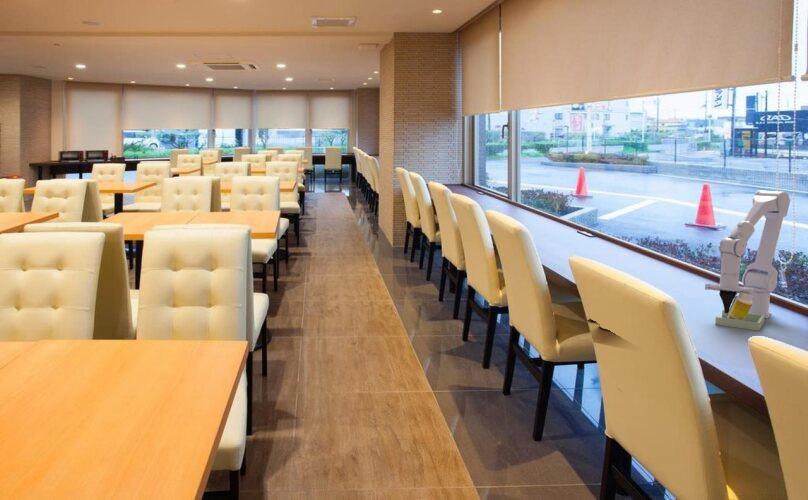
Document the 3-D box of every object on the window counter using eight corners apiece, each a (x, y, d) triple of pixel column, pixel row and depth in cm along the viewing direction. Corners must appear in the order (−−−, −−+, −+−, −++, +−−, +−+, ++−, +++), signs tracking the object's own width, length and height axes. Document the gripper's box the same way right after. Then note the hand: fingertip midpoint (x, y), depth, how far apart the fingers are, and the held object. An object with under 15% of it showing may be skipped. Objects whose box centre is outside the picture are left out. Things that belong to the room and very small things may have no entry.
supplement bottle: (746, 325, 218) (758, 298, 215) (730, 322, 218) (743, 294, 215) (738, 318, 224) (750, 292, 220) (723, 315, 223) (735, 288, 220)
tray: (722, 316, 229) (722, 309, 229) (764, 322, 222) (764, 315, 221) (715, 324, 219) (715, 317, 218) (758, 330, 211) (759, 323, 211)
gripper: (704, 272, 221) (701, 311, 223) (752, 277, 213) (748, 318, 215) (708, 269, 227) (705, 307, 229) (755, 274, 219) (751, 314, 221)
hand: (726, 312), depth 222 cm, fingers closed
